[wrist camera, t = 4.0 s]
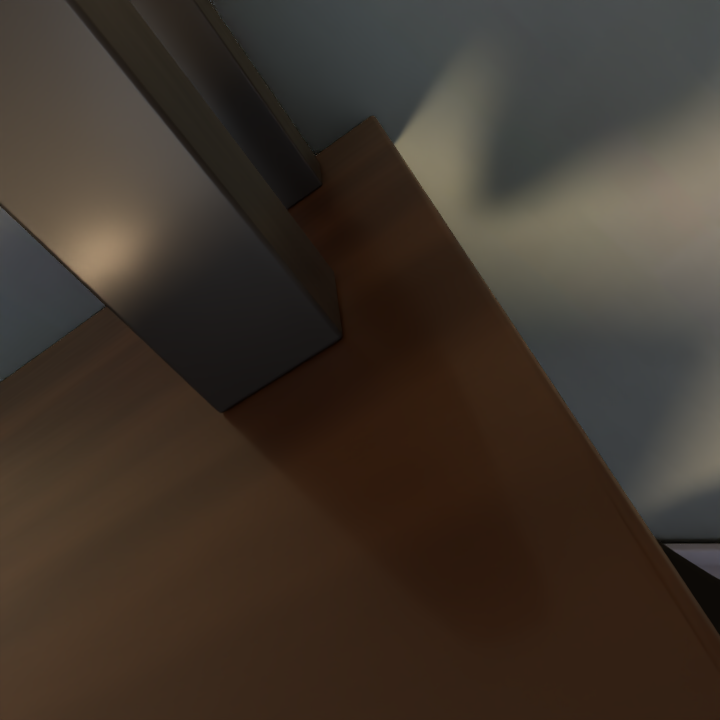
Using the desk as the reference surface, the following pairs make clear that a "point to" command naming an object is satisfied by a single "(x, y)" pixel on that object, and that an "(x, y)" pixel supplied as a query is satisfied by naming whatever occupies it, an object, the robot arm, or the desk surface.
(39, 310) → the desk surface
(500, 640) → the cupboard door
